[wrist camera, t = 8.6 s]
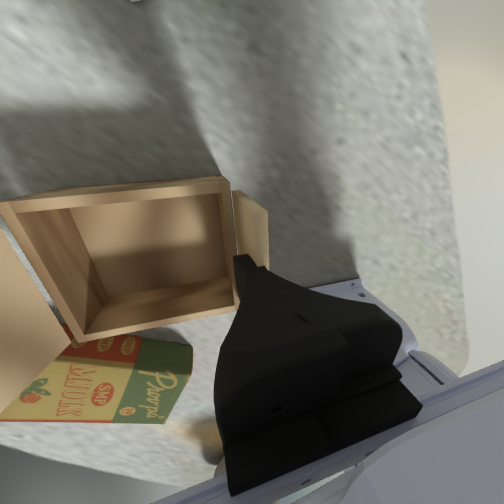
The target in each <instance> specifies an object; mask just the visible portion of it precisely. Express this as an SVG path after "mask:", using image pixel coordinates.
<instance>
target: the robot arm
mask: <svg viewBox="0 0 504 504" xmlns="http://www.w3.org/2000/svg"><path fill="white" fill-rule="evenodd" d="M233 265H234V273H235V282H236V289H237V293H238V296H239V300H240V303H239V307H238V310H237V313H236V315H235V318H234V320H233V323H232V325H231V328H230V330H229V332H228V334H227V335H226V337H225V339H224V341H223V343H222V345H221V347H220V352H219V357H218V362H217V367H216V373H215V380H214V406H215V415H216V422H217V425H218V429H219V432H220V436H221V439H222V443H223V449H224V458H225V466H226V473H224V474H222V475H220V476H217V477H215V478H212V479H210V480H207V481H205V482H202V483H200V484H197V485H195V486H192V487H190V488H188V489H185V490H183V491H180V492H178V493H175V494H173V495H170V496H168V497H166V498H163V499H160V500H158V501H156V502H153V503H151V504H271V503H273V502H275V501H277V500H279V499H281V498H283V497H286V496H288V495H290V494H292V493H294V492H297V491H299V490H301V489H303V488H305V487H308V486H310V485H312V484H314V483H316V482H318V481H320V480H323V479H325V478H327V477H329V476H331V475H334V474H336V473H338V472H340V471H342V470H343V471H344V472H345V473H344V474H342V475H340V476H339V477H337V478H335V479H333V480H332V481H330V482H328V483H326V484H324V485H323V486H321V487H320V488H318V489H316V490H314V491H312V492H311V493H309V494H307V495H305V496H304V497H302V498H300V499H299V500H297V501H296V502H293V503H292V504H504V360H503V361H500V362H498V363H495V364H493V365H490V366H488V367H485V368H483V369H480V370H478V371H476V372H473V373H471V374H468V375H466V376H463V377H461V378H459V377H458V376H457V375H456V374H455V373H454V372H453V371H451V370H450V369H449V368H448V367H446V366H445V365H444V364H443V363H441V362H440V361H439V360H438V359H436V358H435V357H433V356H432V355H430V354H429V353H427V352H422V351H419V347H418V343H417V340H416V338H415V336H414V334H413V332H412V331H411V329H410V327H409V326H408V325H407V324H406V322H405V321H404V320H403V319H402V318H401V317H399V316H398V315H397V314H396V313H394V312H393V311H392V310H391V309H389V308H388V307H387V306H386V305H385V304H383V303H382V302H381V301H380V300H378V299H377V298H376V297H375V296H373V295H372V294H371V293H370V292H368V291H367V290H366V289H365V288H363V280H362V279H354V280H349V281H344V282H339V283H333V284H328V285H323V286H318V287H313V288H308V289H307V288H304V287H302V286H299V285H297V284H294V283H292V282H290V281H287V280H285V279H283V278H281V277H279V276H277V275H276V274H274V273H272V272H270V271H268V270H267V268H266V267H265V265H264V266H259V267H257V265H256V263H255V262H254V261H253V259H252V258H251V257H250V255H249V254H242V255H236V256H233Z"/></svg>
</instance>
